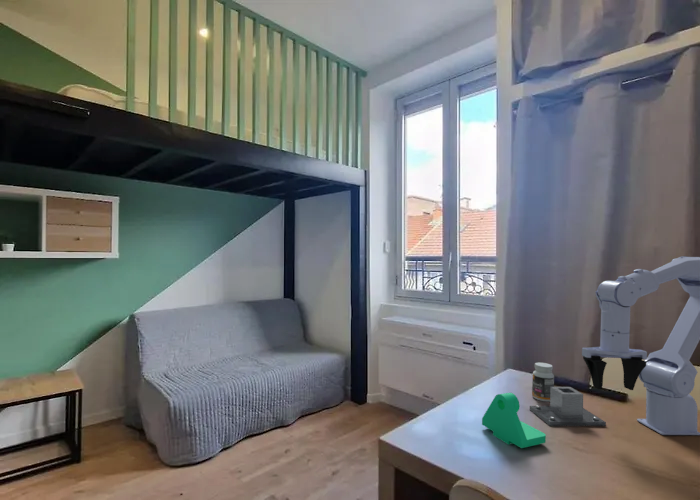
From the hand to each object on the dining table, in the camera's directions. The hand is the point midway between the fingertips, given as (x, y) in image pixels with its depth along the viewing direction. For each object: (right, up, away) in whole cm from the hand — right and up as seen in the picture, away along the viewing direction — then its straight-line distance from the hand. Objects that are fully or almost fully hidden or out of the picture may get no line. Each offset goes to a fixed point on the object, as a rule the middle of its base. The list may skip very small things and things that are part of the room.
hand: (613, 388), depth 92 cm
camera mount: (-25, -10, -3) cm, 27 cm away
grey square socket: (-7, -9, +8) cm, 14 cm away
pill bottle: (-6, -11, +21) cm, 24 cm away
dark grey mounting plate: (-7, -10, +8) cm, 15 cm away
